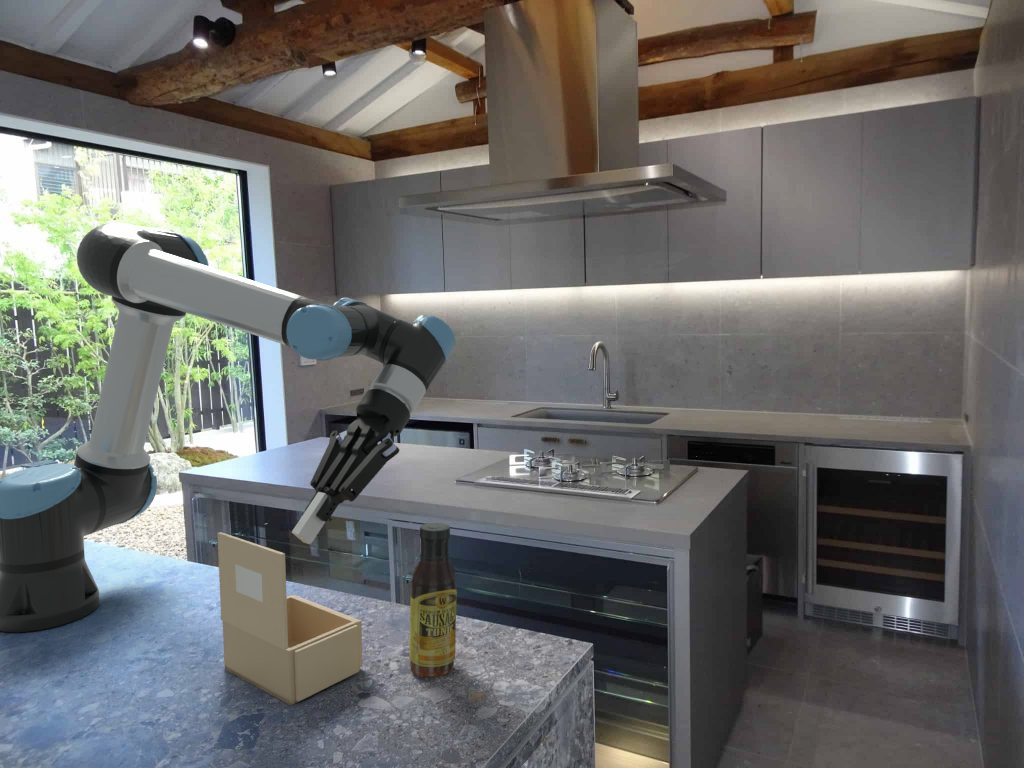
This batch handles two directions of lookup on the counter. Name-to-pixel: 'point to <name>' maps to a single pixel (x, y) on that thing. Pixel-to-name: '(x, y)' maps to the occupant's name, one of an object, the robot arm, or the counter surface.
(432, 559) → the sauce bottle
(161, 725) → the counter surface
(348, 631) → the wooden box
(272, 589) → the flap
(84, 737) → the counter surface
